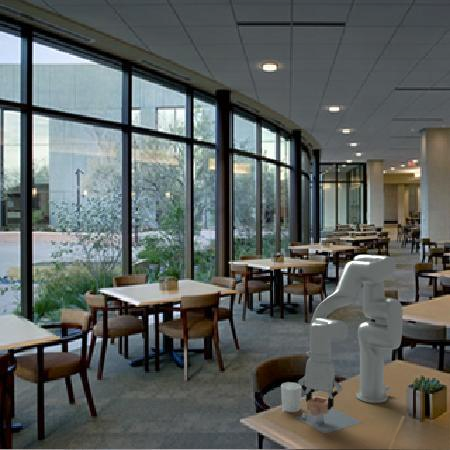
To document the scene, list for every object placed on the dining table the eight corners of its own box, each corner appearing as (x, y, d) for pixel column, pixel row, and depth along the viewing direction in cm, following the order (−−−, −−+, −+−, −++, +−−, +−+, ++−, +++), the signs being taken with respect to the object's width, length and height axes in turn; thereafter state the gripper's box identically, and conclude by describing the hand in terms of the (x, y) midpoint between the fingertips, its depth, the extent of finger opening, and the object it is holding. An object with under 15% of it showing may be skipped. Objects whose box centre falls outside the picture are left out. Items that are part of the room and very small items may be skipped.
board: (330, 410, 185) (330, 397, 185) (362, 425, 171) (362, 411, 171) (294, 420, 176) (294, 406, 176) (324, 437, 162) (325, 422, 162)
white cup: (301, 416, 179) (301, 390, 179) (280, 414, 181) (280, 388, 181) (301, 408, 187) (302, 383, 187) (281, 406, 188) (281, 381, 188)
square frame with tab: (323, 417, 163) (323, 408, 163) (303, 413, 167) (304, 404, 167) (331, 407, 173) (332, 399, 173) (313, 403, 176) (313, 395, 176)
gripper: (293, 356, 172) (293, 405, 172) (341, 363, 164) (340, 414, 164) (300, 351, 179) (300, 398, 179) (347, 358, 170) (346, 407, 170)
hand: (319, 405), depth 171 cm, fingers closed on square frame with tab, 7 cm apart
